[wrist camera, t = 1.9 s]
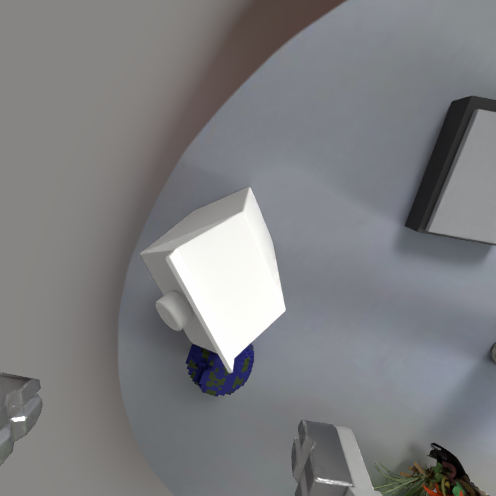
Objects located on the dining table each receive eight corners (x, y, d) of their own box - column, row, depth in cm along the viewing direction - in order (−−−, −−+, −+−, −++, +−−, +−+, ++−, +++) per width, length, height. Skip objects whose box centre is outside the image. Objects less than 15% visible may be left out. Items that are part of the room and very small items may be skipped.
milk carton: (250, 185, 29) (238, 227, 11) (273, 241, 31) (294, 353, 13) (193, 209, 30) (101, 283, 12) (219, 262, 32) (172, 391, 14)
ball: (240, 367, 37) (236, 417, 30) (189, 352, 37) (172, 398, 30) (259, 323, 35) (260, 366, 28) (205, 306, 34) (191, 344, 27)
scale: (452, 99, 26) (477, 91, 23) (558, 119, 26) (596, 114, 23) (404, 226, 30) (420, 233, 27) (495, 242, 30) (521, 251, 27)
